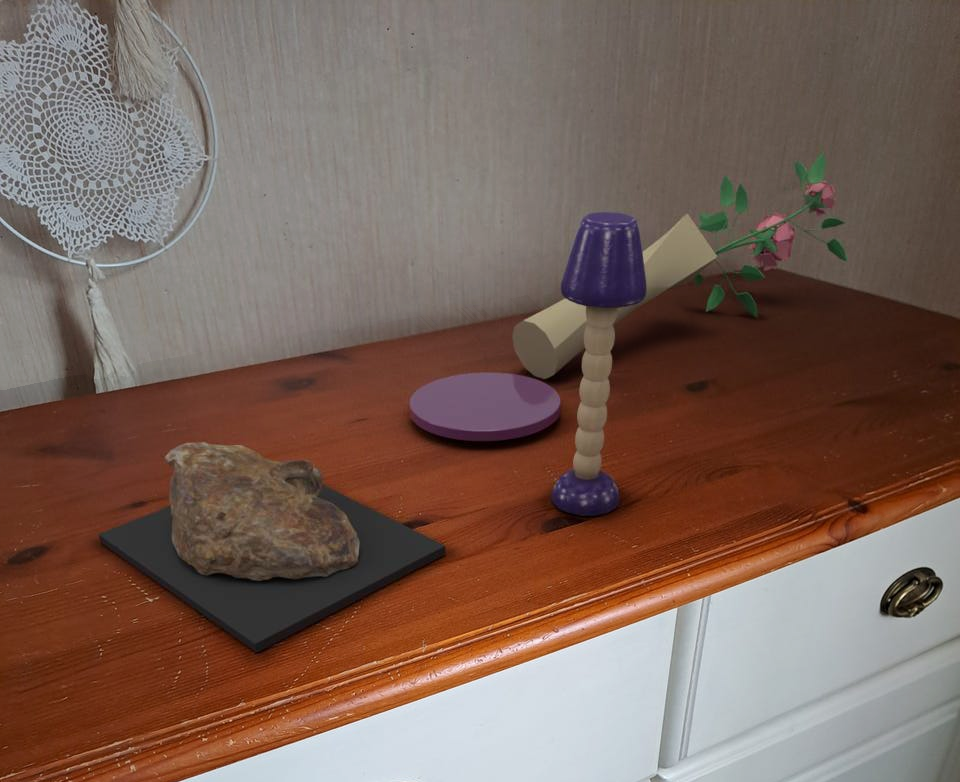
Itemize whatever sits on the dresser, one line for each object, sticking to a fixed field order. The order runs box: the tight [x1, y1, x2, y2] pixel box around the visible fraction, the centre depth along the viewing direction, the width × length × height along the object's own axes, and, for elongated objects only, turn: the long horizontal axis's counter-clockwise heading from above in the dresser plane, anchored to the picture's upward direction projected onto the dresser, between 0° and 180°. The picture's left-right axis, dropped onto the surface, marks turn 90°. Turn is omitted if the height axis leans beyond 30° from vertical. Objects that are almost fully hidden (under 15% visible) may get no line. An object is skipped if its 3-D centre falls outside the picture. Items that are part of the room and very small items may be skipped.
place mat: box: [98, 483, 447, 653], centre depth 56 cm, size 16×13×1 cm
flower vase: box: [511, 152, 849, 380], centre depth 84 cm, size 12×12×35 cm
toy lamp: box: [550, 211, 647, 517], centre depth 55 cm, size 5×5×17 cm
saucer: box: [409, 372, 562, 442], centre depth 71 cm, size 11×11×1 cm
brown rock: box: [164, 441, 360, 581], centre depth 55 cm, size 10×12×5 cm
